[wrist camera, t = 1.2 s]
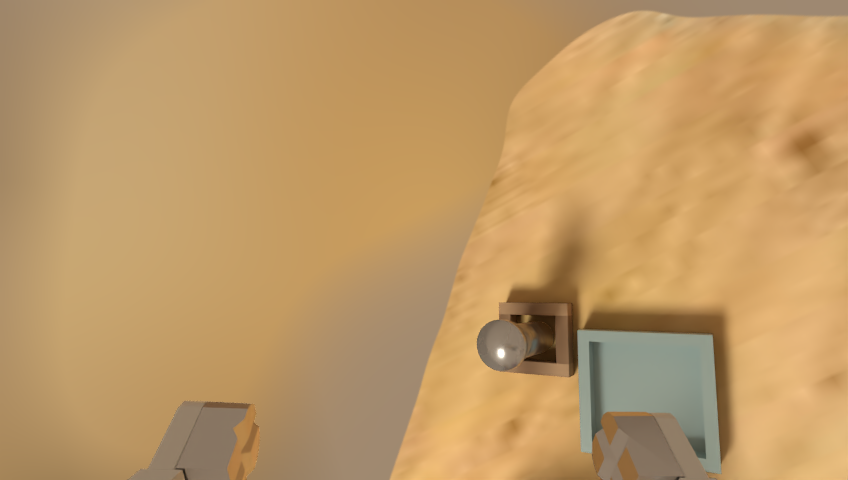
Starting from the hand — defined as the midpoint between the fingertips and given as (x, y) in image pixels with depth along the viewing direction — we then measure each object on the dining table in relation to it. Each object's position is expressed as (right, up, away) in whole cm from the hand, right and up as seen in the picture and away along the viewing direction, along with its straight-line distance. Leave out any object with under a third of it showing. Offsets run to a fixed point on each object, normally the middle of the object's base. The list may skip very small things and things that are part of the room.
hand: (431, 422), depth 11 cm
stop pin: (+12, -6, +39) cm, 41 cm away
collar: (+12, -6, +39) cm, 41 cm away
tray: (+20, -10, +33) cm, 40 cm away
